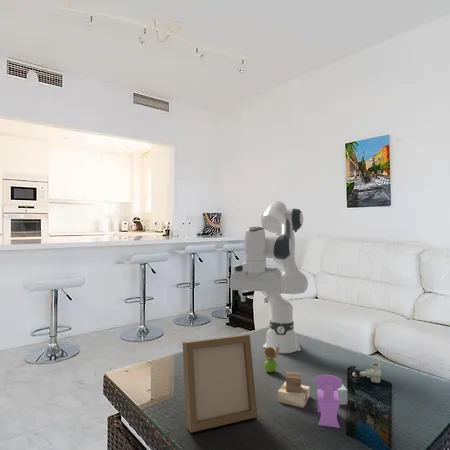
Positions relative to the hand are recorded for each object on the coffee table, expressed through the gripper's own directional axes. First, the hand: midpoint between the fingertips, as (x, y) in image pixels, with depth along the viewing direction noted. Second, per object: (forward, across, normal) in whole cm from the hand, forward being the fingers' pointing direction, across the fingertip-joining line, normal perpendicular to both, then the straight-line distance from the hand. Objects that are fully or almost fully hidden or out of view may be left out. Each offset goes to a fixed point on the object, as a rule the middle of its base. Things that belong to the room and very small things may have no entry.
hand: (254, 301), depth 137 cm
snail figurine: (+31, -6, -10) cm, 33 cm away
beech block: (+32, -16, +11) cm, 37 cm away
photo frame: (+31, +8, +29) cm, 43 cm away
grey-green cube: (+31, -31, +9) cm, 45 cm away
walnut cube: (+28, -16, +12) cm, 34 cm away
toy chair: (+31, -27, +22) cm, 47 cm away
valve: (+32, -44, -10) cm, 55 cm away
